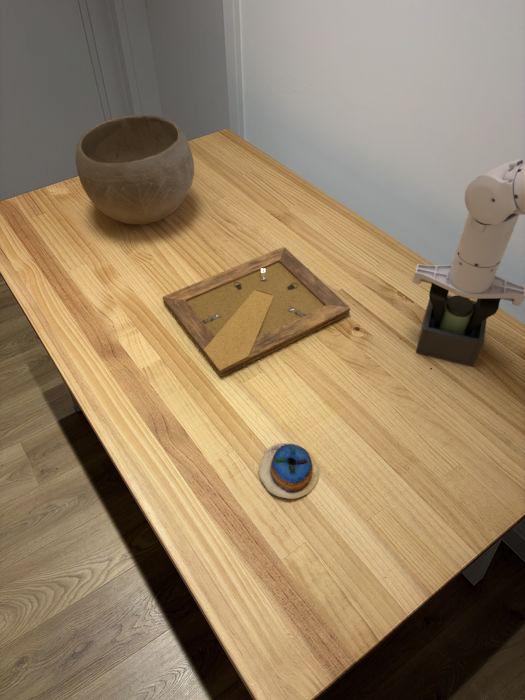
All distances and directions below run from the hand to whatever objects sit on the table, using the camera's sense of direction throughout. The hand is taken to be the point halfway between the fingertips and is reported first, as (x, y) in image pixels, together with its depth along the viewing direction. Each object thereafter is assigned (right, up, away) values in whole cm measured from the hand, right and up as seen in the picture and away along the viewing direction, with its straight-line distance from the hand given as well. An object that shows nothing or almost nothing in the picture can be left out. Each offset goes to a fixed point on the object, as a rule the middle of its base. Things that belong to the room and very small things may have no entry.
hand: (452, 326), depth 82 cm
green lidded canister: (0, -1, +1) cm, 1 cm away
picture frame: (-29, +3, +7) cm, 30 cm away
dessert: (-25, -19, -12) cm, 34 cm away
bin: (0, -2, +2) cm, 3 cm away
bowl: (-51, +24, +26) cm, 62 cm away
